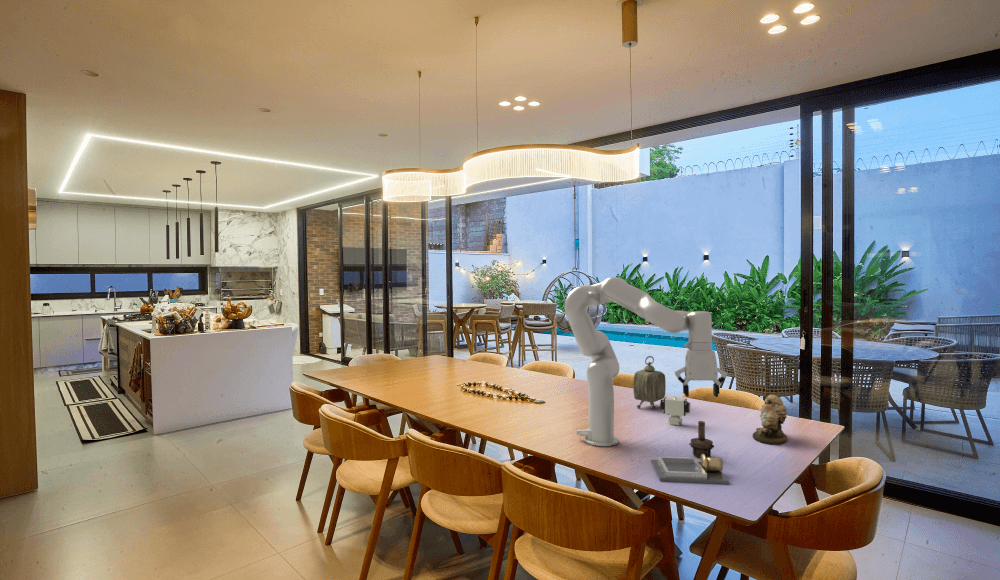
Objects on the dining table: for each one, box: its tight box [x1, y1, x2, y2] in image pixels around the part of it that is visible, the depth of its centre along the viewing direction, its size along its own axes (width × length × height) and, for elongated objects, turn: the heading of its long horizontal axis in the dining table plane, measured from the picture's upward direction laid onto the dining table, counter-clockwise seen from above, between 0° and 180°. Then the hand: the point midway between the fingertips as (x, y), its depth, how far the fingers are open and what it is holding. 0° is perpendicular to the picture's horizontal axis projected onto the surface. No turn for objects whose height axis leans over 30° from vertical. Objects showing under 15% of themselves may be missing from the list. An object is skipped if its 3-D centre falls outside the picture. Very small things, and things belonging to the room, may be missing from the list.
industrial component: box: [688, 420, 715, 459], centre depth 176 cm, size 9×7×12 cm
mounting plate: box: [650, 454, 730, 485], centre depth 160 cm, size 20×16×6 cm
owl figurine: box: [752, 394, 788, 446], centre depth 195 cm, size 18×12×17 cm, turn 150°
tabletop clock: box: [632, 355, 667, 409], centre depth 244 cm, size 14×9×25 cm, turn 130°
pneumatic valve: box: [659, 395, 692, 426], centre depth 215 cm, size 6×12×12 cm, turn 61°
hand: (701, 396), depth 175 cm, fingers open, 9 cm apart
